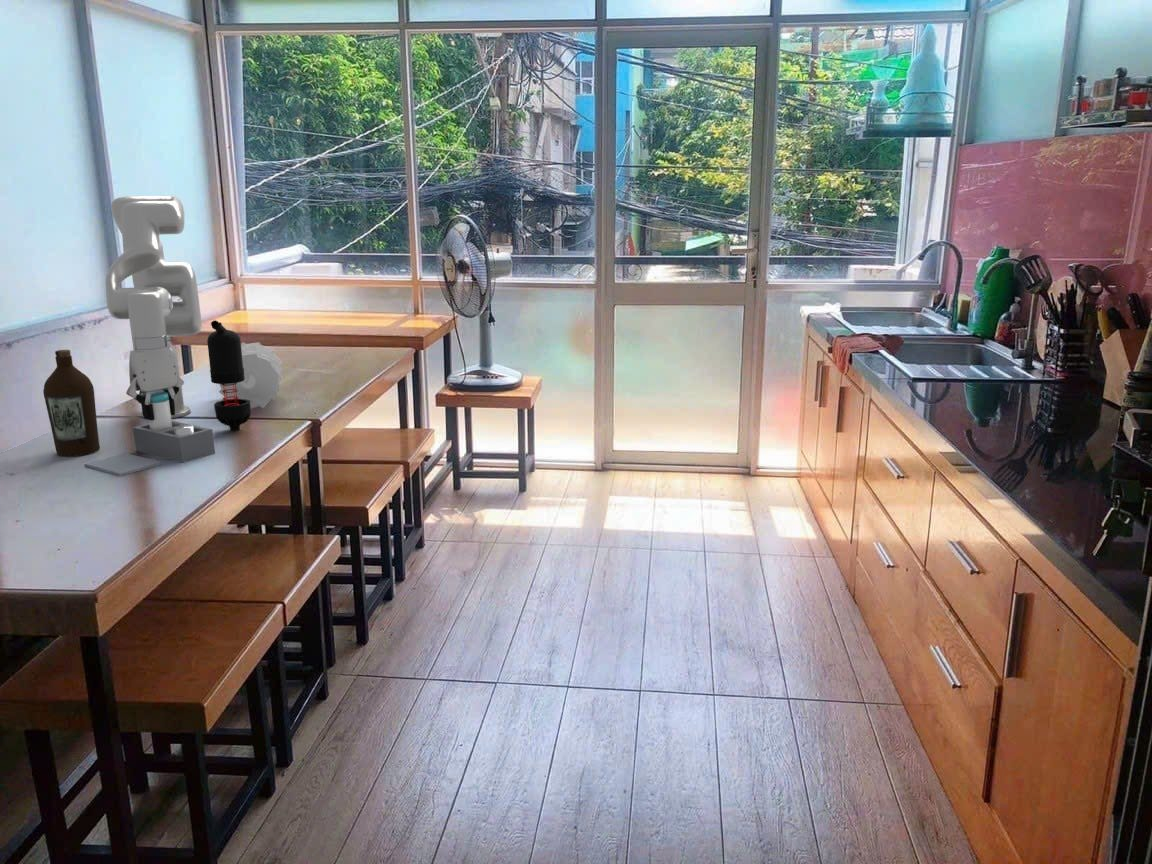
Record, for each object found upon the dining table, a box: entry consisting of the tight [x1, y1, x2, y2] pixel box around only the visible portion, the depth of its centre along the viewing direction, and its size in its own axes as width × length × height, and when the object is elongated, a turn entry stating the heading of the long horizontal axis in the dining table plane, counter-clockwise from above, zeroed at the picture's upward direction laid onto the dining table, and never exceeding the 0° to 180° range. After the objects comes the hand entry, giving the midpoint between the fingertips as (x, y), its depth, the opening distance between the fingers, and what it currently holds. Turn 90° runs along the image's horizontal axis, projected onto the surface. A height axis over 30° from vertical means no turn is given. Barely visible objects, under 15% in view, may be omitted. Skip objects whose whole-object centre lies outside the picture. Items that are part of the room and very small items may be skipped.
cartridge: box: [148, 392, 173, 431], centre depth 219 cm, size 5×5×14 cm
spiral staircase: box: [218, 341, 283, 410], centre depth 265 cm, size 18×18×25 cm
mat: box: [84, 452, 162, 477], centre depth 209 cm, size 14×10×1 cm
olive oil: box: [42, 349, 101, 458], centre depth 216 cm, size 11×11×25 cm
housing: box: [132, 420, 216, 463], centre depth 218 cm, size 18×9×6 cm, turn 59°
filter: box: [206, 320, 252, 432], centre depth 236 cm, size 14×9×30 cm
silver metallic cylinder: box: [174, 424, 195, 436], centre depth 216 cm, size 4×4×5 cm
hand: (159, 416), depth 219 cm, fingers closed on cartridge, 5 cm apart
